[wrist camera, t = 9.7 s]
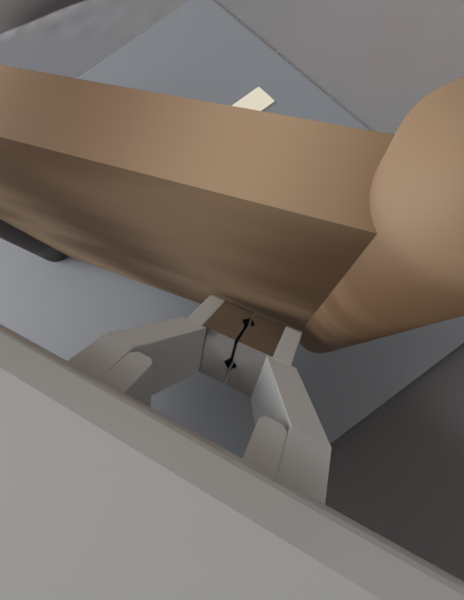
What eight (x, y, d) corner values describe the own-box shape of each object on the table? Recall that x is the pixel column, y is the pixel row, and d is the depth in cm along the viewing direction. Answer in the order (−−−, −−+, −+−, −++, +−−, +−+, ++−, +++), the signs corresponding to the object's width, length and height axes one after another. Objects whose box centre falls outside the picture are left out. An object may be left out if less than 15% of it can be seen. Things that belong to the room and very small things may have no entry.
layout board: (107, 607, 12) (99, 620, 11) (-65, 186, 19) (-75, 180, 19) (537, 282, 12) (550, 277, 12) (203, 0, 20) (201, -11, 20)
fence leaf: (64, 262, 15) (-354, 51, 5) (80, 231, 15) (-279, -25, 5) (332, 360, 12) (674, 324, 2) (345, 318, 12) (693, 86, 2)
